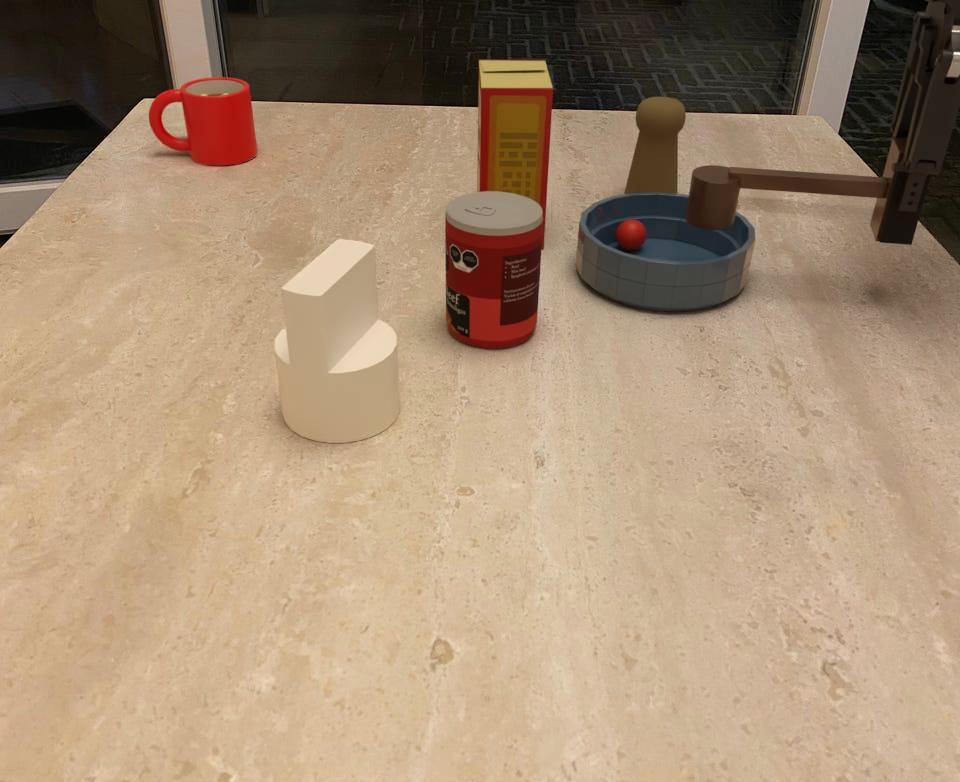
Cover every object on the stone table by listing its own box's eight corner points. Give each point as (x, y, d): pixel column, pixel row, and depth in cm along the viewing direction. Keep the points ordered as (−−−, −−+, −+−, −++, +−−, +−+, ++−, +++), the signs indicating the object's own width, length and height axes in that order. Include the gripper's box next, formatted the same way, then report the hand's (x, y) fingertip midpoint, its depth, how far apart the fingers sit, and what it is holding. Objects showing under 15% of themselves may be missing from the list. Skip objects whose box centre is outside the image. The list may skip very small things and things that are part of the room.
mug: (159, 145, 122) (146, 78, 117) (258, 141, 124) (250, 75, 119) (151, 168, 116) (138, 99, 111) (256, 164, 117) (247, 96, 113)
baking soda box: (543, 249, 101) (553, 85, 91) (478, 248, 100) (481, 84, 91) (537, 211, 108) (545, 56, 98) (476, 211, 108) (478, 55, 98)
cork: (662, 188, 114) (675, 88, 107) (687, 208, 109) (702, 106, 103) (613, 193, 112) (624, 93, 106) (637, 214, 108) (649, 111, 101)
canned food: (448, 306, 91) (447, 189, 84) (536, 308, 91) (542, 191, 84) (443, 349, 85) (442, 226, 78) (537, 352, 85) (544, 229, 78)
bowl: (744, 247, 102) (753, 200, 99) (746, 323, 89) (757, 272, 86) (585, 232, 104) (589, 185, 101) (566, 304, 91) (570, 253, 88)
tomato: (635, 255, 97) (657, 235, 98) (617, 231, 97) (639, 211, 97) (623, 258, 100) (644, 238, 101) (605, 234, 99) (626, 214, 100)
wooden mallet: (903, 225, 92) (927, 138, 87) (911, 245, 88) (937, 156, 83) (685, 209, 94) (697, 123, 89) (685, 228, 91) (698, 140, 86)
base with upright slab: (369, 453, 73) (360, 306, 65) (260, 427, 75) (239, 282, 68) (417, 391, 79) (414, 251, 72) (316, 369, 82) (303, 231, 74)
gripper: (902, -81, 83) (840, 193, 97) (935, -41, 70) (857, 268, 84) (998, -78, 81) (921, 199, 96) (1050, -37, 68) (951, 276, 83)
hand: (891, 231), depth 90 cm, fingers closed on wooden mallet, 4 cm apart
